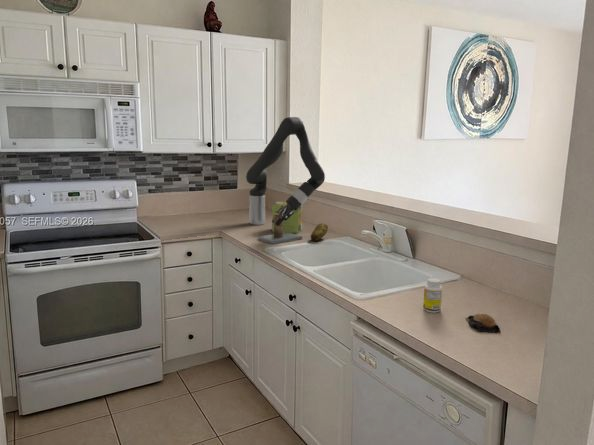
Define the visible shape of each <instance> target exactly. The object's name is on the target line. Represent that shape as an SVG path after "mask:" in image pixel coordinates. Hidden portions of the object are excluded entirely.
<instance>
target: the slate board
mask: <svg viewBox="0 0 594 445" xmlns="http://www.w3.org/2000/svg"><path fill="white" fill-rule="evenodd" d="M257 240H259V241H262V242H264V243H268V244H271V245H277V244H282V243H288V242H294V241H298V240H300V241H301V240H303V236H302V235H300V234H297V233H289V232H283V237H282V238H275V237H274V233H273V234H267V235H261V236H258V237H257Z"/></svg>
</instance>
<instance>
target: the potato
mask: <svg viewBox="0 0 594 445" xmlns="http://www.w3.org/2000/svg"><path fill="white" fill-rule="evenodd" d="M328 231H329V226H328V225H327V224H325V223H319V224H317V225H316V226H315V227H314V229H313V231H312V232H311V234H310V239H311V241H313V242H317V241H319V240H321V239H322V238H323V237H324V236H325V235H327V233H328Z"/></svg>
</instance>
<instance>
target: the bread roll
mask: <svg viewBox="0 0 594 445" xmlns="http://www.w3.org/2000/svg"><path fill="white" fill-rule="evenodd" d="M465 321H466V322H467V324H468V325H469V327H471V329H472V330H473V331H474V332H476V333H484V334H486V333H488V334H501V333H502V331H501V328H500V326H499V324H497V322H496V321H495V319H494V318H493V317H492V316H491V315H489V314H487V313H476V314H474V315H469V316H468V317H465Z"/></svg>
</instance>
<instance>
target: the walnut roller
mask: <svg viewBox="0 0 594 445" xmlns="http://www.w3.org/2000/svg"><path fill="white" fill-rule="evenodd" d="M281 216H282V214H280V213H277V214H274V232H273V234H274V237H275V238H282V237H283V222H282V223H281V224H280V225H279V226H277V225H276V224H275V223H276V221H277V220H278V219H279V218H280V217H281Z"/></svg>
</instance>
